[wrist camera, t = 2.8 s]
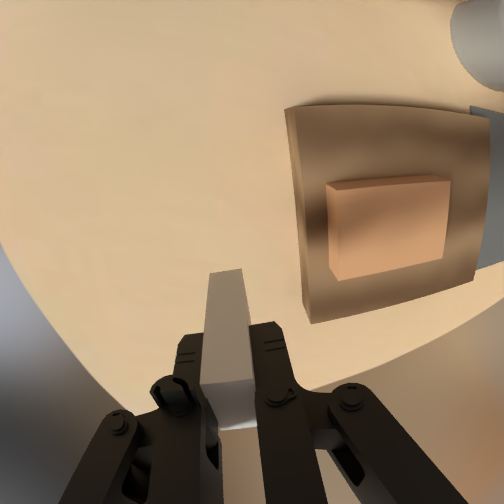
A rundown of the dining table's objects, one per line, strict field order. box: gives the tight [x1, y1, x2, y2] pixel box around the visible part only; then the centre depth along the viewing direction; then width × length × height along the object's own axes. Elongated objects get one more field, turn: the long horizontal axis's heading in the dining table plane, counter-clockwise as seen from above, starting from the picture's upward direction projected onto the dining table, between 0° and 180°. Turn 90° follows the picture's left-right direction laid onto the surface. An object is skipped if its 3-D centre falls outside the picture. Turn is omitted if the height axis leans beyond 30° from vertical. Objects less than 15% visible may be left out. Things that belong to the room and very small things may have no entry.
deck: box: [285, 105, 490, 324], centre depth 20 cm, size 16×18×3 cm
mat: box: [470, 106, 504, 270], centre depth 21 cm, size 18×12×1 cm, turn 8°
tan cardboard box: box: [326, 175, 451, 281], centre depth 18 cm, size 6×9×2 cm, turn 98°
